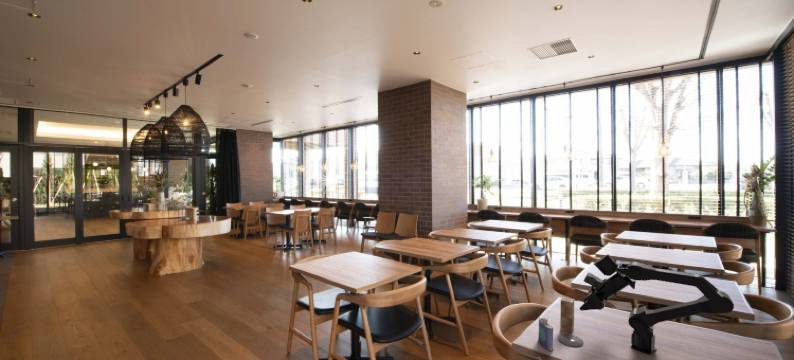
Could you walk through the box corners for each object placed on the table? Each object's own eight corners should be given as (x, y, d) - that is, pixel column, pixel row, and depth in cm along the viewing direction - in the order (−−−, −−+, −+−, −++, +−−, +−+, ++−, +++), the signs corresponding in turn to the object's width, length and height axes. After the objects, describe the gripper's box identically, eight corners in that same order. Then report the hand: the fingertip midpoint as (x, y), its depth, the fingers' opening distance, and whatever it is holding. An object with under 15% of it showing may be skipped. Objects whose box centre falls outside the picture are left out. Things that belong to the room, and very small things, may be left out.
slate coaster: (587, 342, 138) (587, 340, 138) (575, 349, 133) (575, 347, 133) (565, 333, 145) (565, 331, 145) (553, 339, 140) (553, 338, 140)
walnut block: (573, 329, 149) (574, 299, 148) (572, 333, 145) (572, 302, 145) (562, 326, 152) (562, 296, 151) (560, 330, 148) (560, 300, 147)
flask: (554, 351, 132) (554, 323, 131) (546, 351, 132) (546, 323, 131) (543, 339, 141) (543, 313, 141) (536, 339, 141) (536, 313, 140)
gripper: (600, 262, 148) (571, 283, 155) (594, 274, 133) (562, 296, 140) (621, 284, 144) (590, 304, 151) (618, 299, 129) (584, 320, 136)
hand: (581, 305), depth 145 cm, fingers open, 9 cm apart
